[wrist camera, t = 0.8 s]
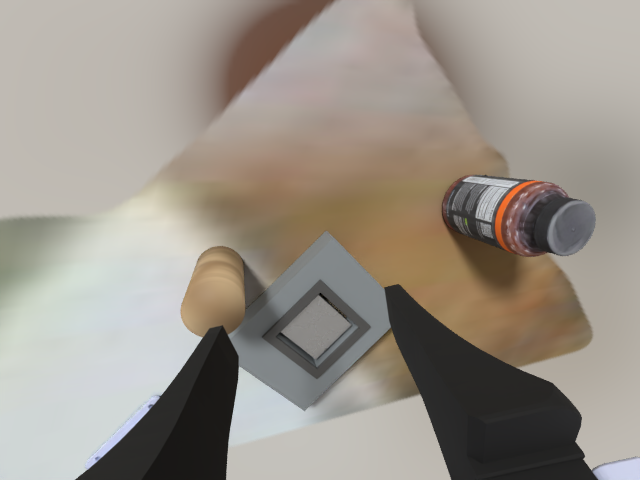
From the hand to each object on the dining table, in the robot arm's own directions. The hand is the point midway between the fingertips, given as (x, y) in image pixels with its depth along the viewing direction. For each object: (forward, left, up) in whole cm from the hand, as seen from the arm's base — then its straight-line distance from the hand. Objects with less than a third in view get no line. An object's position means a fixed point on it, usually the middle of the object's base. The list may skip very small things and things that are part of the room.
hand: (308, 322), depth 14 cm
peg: (-5, +1, -16) cm, 17 cm away
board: (-3, -9, -16) cm, 18 cm away
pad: (-3, -9, -14) cm, 17 cm away
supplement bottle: (+16, -12, -16) cm, 25 cm away
